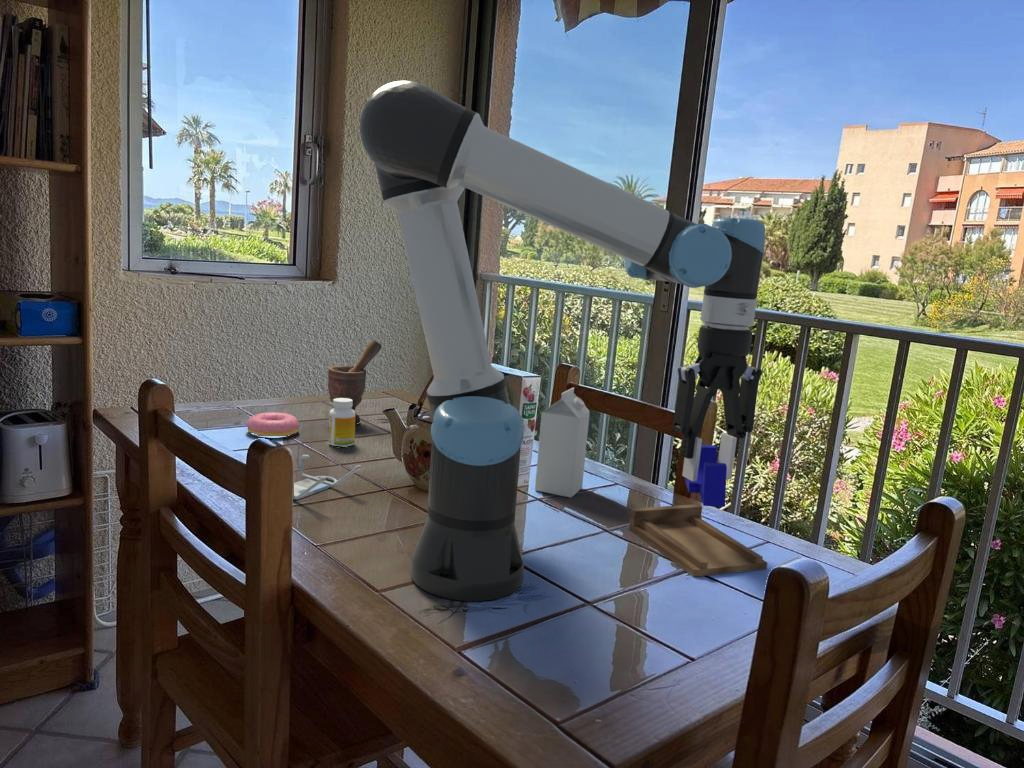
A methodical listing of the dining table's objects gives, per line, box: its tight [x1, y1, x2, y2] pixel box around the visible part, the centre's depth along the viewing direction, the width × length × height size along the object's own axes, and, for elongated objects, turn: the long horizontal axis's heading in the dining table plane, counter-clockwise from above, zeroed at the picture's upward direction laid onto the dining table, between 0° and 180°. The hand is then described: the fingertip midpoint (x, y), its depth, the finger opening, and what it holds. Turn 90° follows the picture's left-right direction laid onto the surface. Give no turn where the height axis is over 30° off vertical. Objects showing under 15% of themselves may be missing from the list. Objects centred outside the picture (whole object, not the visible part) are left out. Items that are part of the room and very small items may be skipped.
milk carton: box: [534, 387, 591, 499], centre depth 137 cm, size 7×7×19 cm
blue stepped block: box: [684, 444, 727, 508], centre depth 112 cm, size 12×4×6 cm, turn 172°
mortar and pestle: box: [327, 340, 382, 424], centre depth 173 cm, size 12×9×20 cm
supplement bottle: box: [327, 398, 356, 447], centre depth 155 cm, size 5×5×10 cm
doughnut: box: [245, 411, 301, 436], centre depth 160 cm, size 11×11×4 cm
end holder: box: [628, 503, 768, 578], centre depth 115 cm, size 13×18×4 cm
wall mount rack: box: [293, 454, 362, 501], centre depth 125 cm, size 16×14×6 cm
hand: (706, 477), depth 113 cm, fingers closed on blue stepped block, 6 cm apart
